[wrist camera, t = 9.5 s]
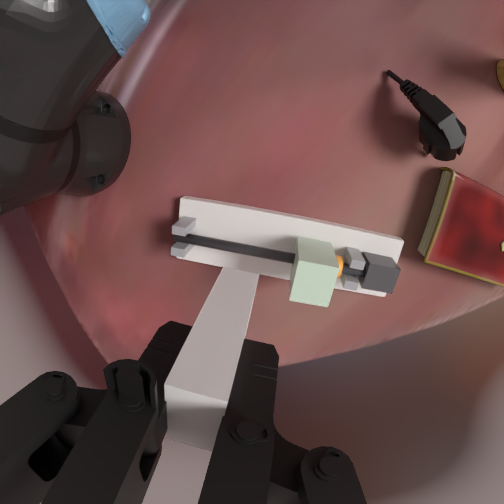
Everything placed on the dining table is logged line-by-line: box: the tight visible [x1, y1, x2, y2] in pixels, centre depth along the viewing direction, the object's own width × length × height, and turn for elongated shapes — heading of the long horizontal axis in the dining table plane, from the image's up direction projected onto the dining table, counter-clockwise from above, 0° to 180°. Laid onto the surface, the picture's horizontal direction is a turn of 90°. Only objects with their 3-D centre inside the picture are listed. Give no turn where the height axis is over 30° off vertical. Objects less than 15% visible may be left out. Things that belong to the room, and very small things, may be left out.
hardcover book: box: [417, 167, 504, 287], centre depth 31 cm, size 12×21×4 cm, turn 78°
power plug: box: [386, 70, 466, 161], centre depth 27 cm, size 6×8×12 cm
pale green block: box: [289, 236, 340, 307], centre depth 31 cm, size 4×4×7 cm
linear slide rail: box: [171, 196, 404, 297], centre depth 34 cm, size 28×8×6 cm, turn 81°
